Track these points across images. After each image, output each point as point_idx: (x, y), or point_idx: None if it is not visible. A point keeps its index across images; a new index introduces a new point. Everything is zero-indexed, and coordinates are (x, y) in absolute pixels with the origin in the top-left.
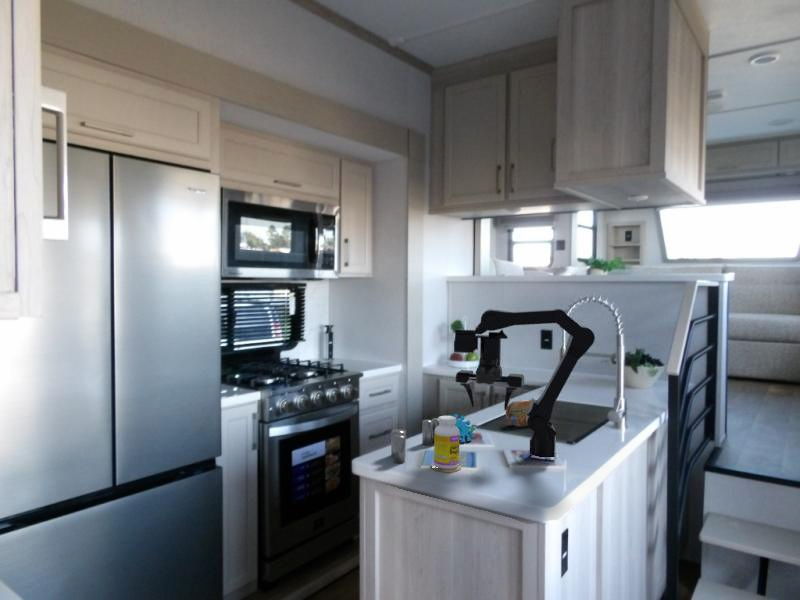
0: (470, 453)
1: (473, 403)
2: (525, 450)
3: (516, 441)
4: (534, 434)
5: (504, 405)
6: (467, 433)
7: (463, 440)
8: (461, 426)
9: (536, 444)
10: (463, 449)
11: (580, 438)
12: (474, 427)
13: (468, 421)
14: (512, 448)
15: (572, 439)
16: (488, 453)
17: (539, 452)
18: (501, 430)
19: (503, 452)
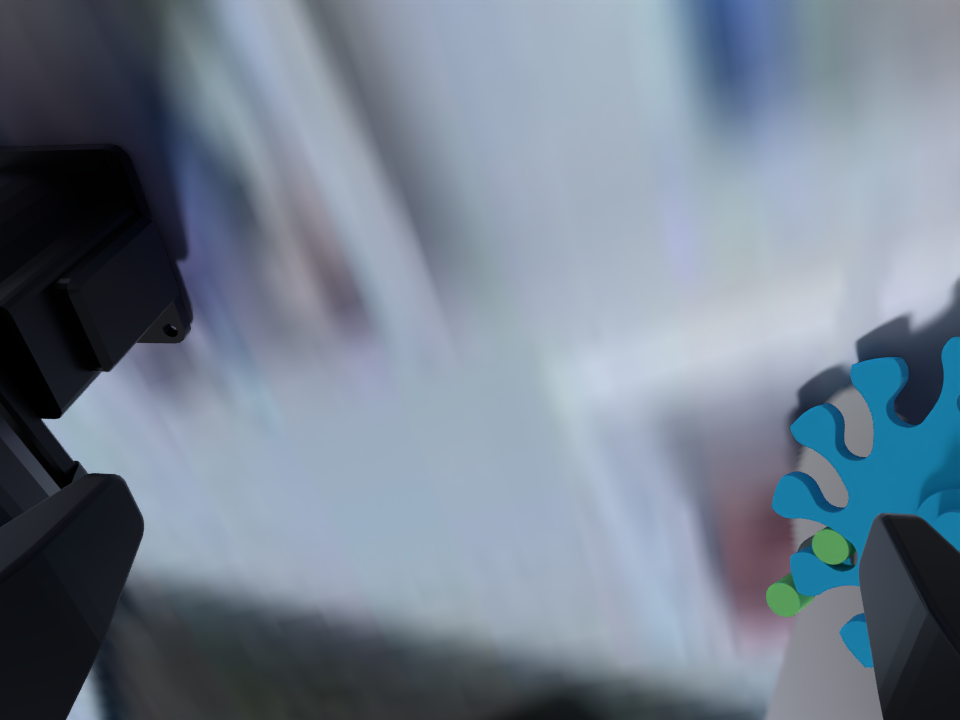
0: (751, 54)
1: (917, 580)
2: (271, 357)
3: (416, 530)
4: (6, 347)
5: (42, 544)
6: (848, 486)
7: (875, 376)
8: (945, 537)
9: (6, 237)
10: (853, 171)
11: (99, 659)
12: (786, 592)
13: (869, 649)
14: (385, 370)
15: (125, 637)
16: (549, 144)
17: (15, 187)
18: (587, 698)
19: (418, 236)
